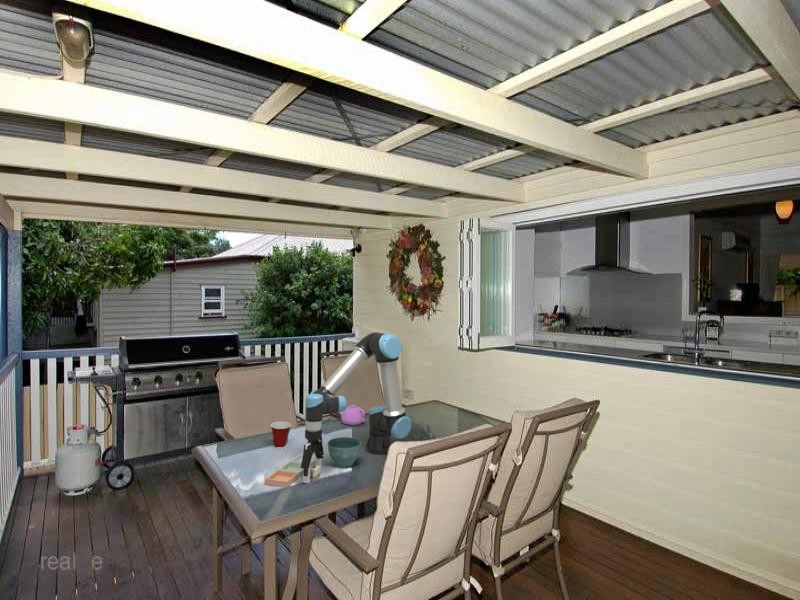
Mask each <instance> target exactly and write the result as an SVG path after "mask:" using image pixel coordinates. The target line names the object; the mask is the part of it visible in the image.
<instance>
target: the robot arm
mask: <svg viewBox="0 0 800 600" xmlns="http://www.w3.org/2000/svg"><path fill="white" fill-rule="evenodd" d="M402 350H403V344H402V341H401V339H400V338H399V337H398V336H396V335H394V334H391V333H383V332H379V331H378V332H370V333H369V334H367V335H365V336H364V337H363V338H362V339H360V340H359V341H358V342H357V343H356V345H354V347H353V351H352V352H351V353H350V354H349V355H348V356H347V358H346V359H344V361H343V362H342V363H341V364H340V365H339V366H338V367H337V369H335V371H334V372H333V373H332V374H331V375H330V377H328V378H327V379H326V381H325V382H324V383H323V384H322V385H321V386H320V387H319V389H313V390H311V392H310V393H309V394H307V395H306V397H305V398H306V399H305V420H304V423H305V426H304V427H305V428H304V429H305V430H304V439H306V440H307V443H306V444H304V445H303V452H302V454H303V458H302V463H301V468H302V469H304V470H303V475H302V477H303V479H302V482H303V483H304V484H310V483H311V481H310V468H309V466H310V462H311V458H312V455H314V454H315V455H314V456H316V459H315V465H316V466H320V474H322V459H324V455H325V454H324V446H323V416H325V415H330V414H331V415H332V414H339V413H340V412H343V411H345V409H346V407H348V406H347V405H348V403H347V402H348V401H347V399H346V397H345V396H344V395H336V394H337V392H338V391H339V390H340V389H341V388H342V386H344V384H345V383H346V382H347V381H348V380H349V379H350V377H351V376H353V374H354V373H355V372H356V371H357V369H358V368H359V367H361V365H362V364H363V363H364V362H365V361H369V359H370V358H371V357H372V356H375V363H377V364H378V365H379V370H380V378H381V388H382V393H383V401H384V405H378V406H377V405H376V406H373V407H371V408H370V409H369V413H368V436H367V439H366V441H365V446H364V449H365V451H366V452H368V453H370V454H375V455H386V454H388V453H387V451H388V448H389V446H390V444H391V443H393V440H392V438H394V439H397V440H399V439H400V440H401V439H404V438H405V437H407V436H408V435H409V433H410V431H411V429H412V425H413V424H412V421H411V419H410V418H409V417H408V416H407V413H406V408H404V407H403V405H402V396H401V389H400V380H399V374H398V373H399V372H398V365H397V362H398V361H399V359H400V357H399V356H400V355H401V352H402Z"/></svg>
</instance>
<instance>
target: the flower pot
mask: <svg viewBox="0 0 800 600" xmlns="http://www.w3.org/2000/svg"><path fill="white" fill-rule="evenodd" d="M361 445H362V441H361V440H360V439H359V438H356V437H349V436H348V437H347V436H345V437H344V436H342V437H341V436H340V437H335V438H332V439H329V440H328V441H327V450H328V454H329V457H330V459H331V460H332V462H333V465H334V466H335V467H337V468H350V467H352V466H353V465H354V463H355V461H356V460H357V458H358V456H359V453H360V451H361Z"/></svg>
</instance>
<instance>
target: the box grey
mask: <svg viewBox="0 0 800 600" xmlns="http://www.w3.org/2000/svg"><path fill="white" fill-rule="evenodd" d="M302 458H303V453H300V454H298V455H296V456H295V457H294V458H292V459H291V460H290V462H298V463H302ZM315 459H316V455H314V454H312V458H311V462H310V465H315Z"/></svg>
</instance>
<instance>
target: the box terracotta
mask: <svg viewBox="0 0 800 600" xmlns="http://www.w3.org/2000/svg"><path fill="white" fill-rule="evenodd" d="M299 479H300V478H299V473H296V472H289V471H282V470H278V469H276V470H275V471H274V472H273V473H271V474H270V475H269V476H267V477H266V478H264V485H265V486H266V485H267V486H272V487H280V488H284V489H287V488H289V487H290V486H291V485H292V484H294V483H295V482H296V481H298V480H299Z"/></svg>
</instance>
